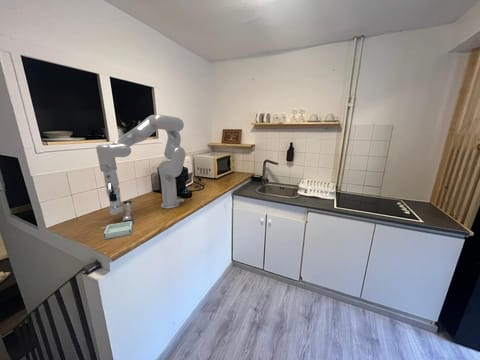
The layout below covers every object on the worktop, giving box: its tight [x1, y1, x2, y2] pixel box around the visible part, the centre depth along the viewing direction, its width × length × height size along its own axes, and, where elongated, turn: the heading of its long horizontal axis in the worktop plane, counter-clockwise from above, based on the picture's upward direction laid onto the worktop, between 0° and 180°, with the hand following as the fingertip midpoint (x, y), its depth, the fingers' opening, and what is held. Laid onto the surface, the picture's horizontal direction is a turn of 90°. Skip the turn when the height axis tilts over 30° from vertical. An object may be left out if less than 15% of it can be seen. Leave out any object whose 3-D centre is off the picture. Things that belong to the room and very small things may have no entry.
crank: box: [122, 200, 133, 222], centre depth 116 cm, size 14×5×8 cm, turn 24°
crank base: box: [100, 217, 135, 229], centre depth 111 cm, size 16×6×2 cm, turn 114°
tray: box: [103, 221, 134, 241], centre depth 103 cm, size 12×11×3 cm
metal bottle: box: [105, 184, 124, 216], centre depth 112 cm, size 6×7×20 cm
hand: (114, 198), depth 112 cm, fingers closed on metal bottle, 6 cm apart
